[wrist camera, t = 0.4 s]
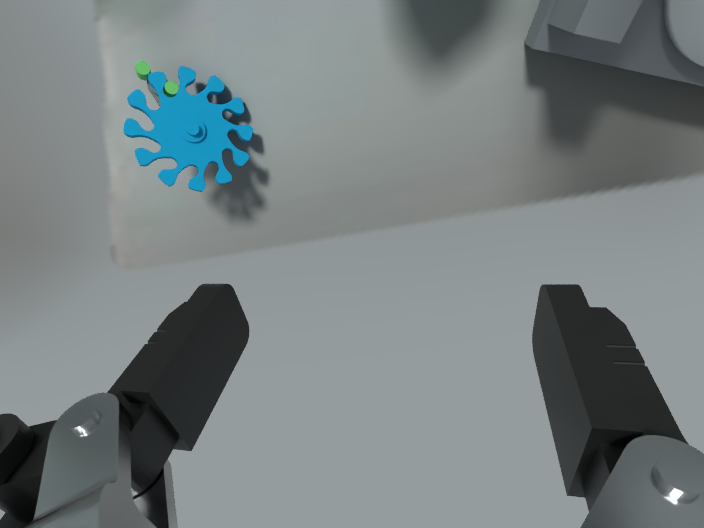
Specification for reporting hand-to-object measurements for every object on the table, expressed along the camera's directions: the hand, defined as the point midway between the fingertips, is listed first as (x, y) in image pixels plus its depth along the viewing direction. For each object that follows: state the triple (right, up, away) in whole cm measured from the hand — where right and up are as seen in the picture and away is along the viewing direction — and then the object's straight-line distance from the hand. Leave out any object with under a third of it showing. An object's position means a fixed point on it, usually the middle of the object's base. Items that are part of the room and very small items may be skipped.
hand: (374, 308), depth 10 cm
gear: (-14, +15, +25) cm, 33 cm away
